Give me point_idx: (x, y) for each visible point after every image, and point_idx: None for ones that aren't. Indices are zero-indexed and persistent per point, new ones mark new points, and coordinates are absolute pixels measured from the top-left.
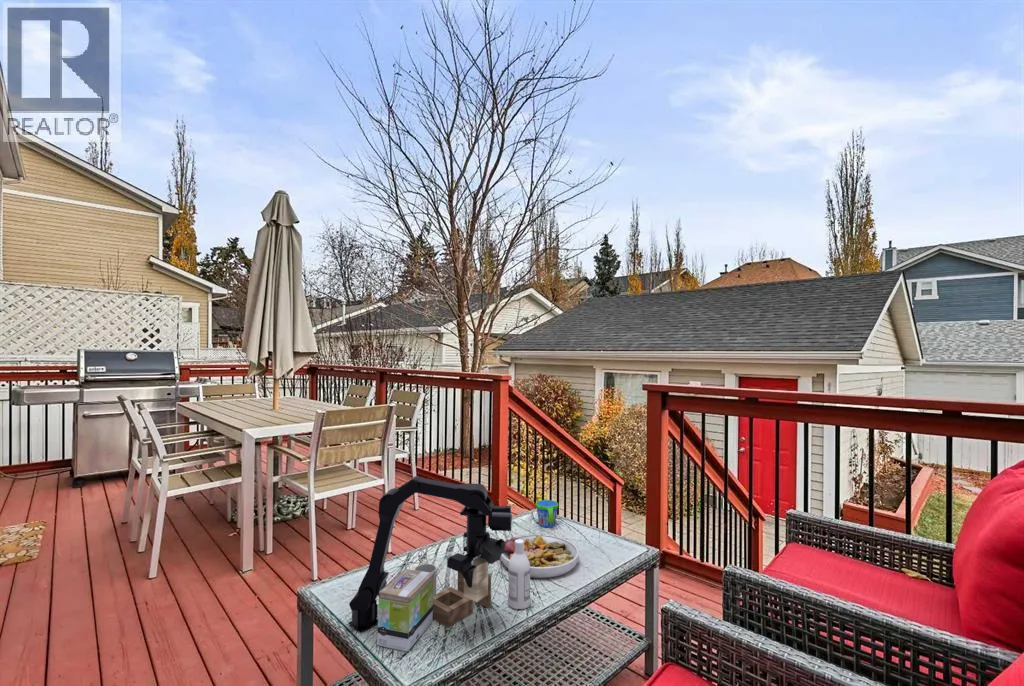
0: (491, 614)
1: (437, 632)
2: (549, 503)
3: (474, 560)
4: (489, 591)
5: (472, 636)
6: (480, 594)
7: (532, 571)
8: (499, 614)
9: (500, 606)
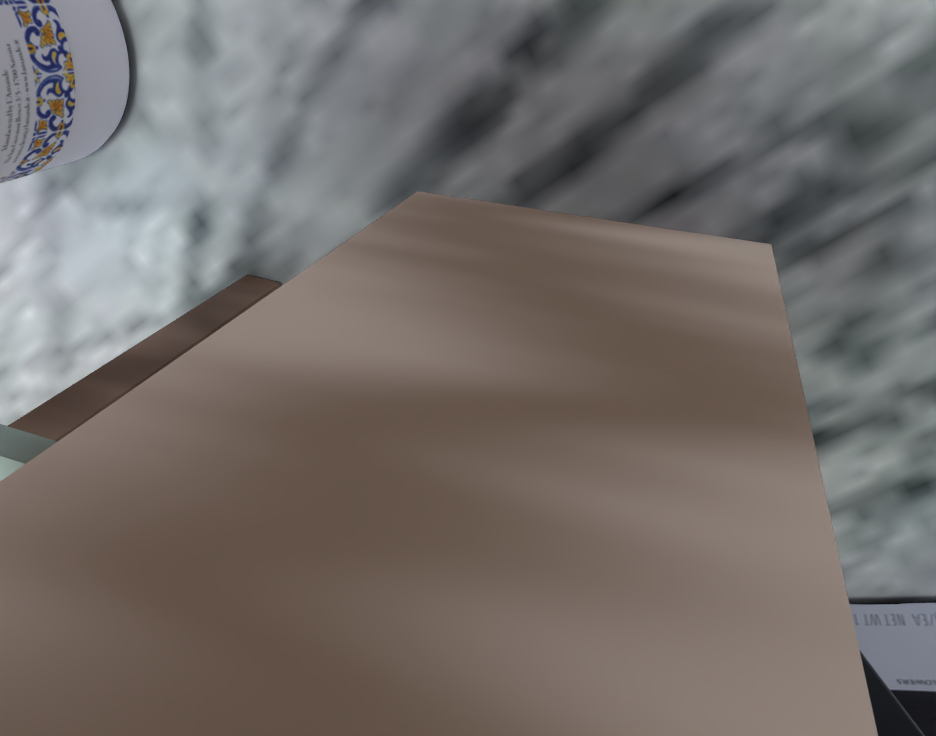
0: (338, 199)
1: (863, 500)
2: None
3: None
4: (169, 344)
5: (779, 157)
6: (636, 260)
7: None
8: (289, 125)
9: (187, 194)
